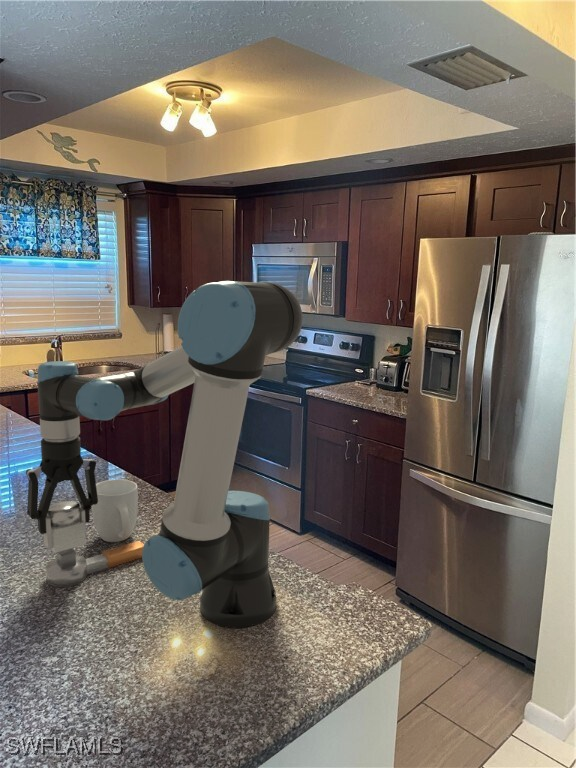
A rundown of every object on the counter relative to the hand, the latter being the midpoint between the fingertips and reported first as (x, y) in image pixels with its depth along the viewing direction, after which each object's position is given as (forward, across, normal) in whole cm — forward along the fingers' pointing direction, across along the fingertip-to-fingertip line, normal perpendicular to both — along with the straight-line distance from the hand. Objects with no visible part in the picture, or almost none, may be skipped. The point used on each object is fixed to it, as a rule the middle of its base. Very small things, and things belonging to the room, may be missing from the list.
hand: (65, 541), depth 119 cm
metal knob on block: (0, 0, 0) cm, 0 cm away
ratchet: (+8, -7, 0) cm, 11 cm away
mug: (+8, -16, -11) cm, 21 cm away
